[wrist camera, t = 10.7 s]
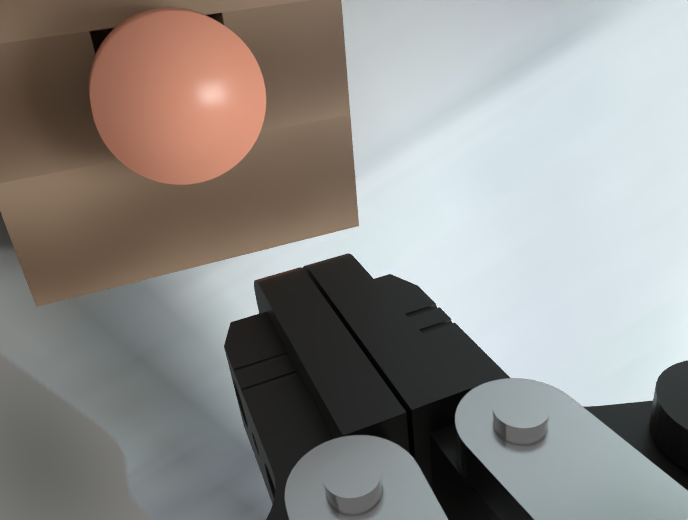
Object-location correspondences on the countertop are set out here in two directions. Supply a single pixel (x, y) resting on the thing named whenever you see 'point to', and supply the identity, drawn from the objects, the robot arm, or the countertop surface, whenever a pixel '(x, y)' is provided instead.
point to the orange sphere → (176, 95)
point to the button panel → (151, 196)
